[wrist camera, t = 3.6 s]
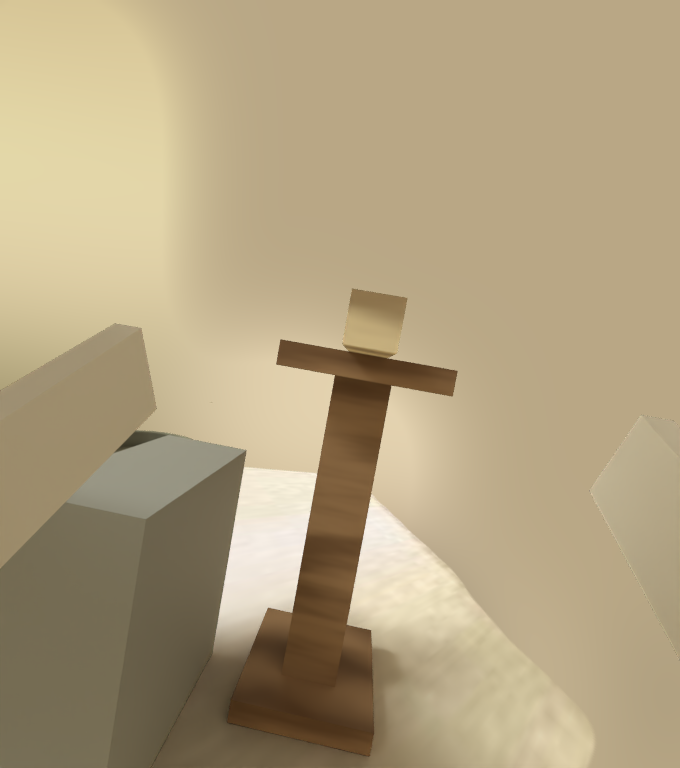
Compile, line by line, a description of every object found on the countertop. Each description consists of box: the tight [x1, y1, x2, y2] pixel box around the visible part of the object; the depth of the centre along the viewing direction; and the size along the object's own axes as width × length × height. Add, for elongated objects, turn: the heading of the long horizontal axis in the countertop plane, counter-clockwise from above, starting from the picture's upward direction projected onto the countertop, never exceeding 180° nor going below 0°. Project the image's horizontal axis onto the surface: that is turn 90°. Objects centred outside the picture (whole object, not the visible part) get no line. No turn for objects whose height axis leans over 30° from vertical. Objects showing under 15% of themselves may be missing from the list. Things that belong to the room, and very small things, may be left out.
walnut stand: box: [227, 340, 457, 756], centre depth 36 cm, size 12×14×32 cm
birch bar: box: [342, 289, 407, 358], centre depth 32 cm, size 24×3×3 cm, turn 176°
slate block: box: [0, 435, 246, 768], centre depth 29 cm, size 17×8×21 cm, turn 176°
